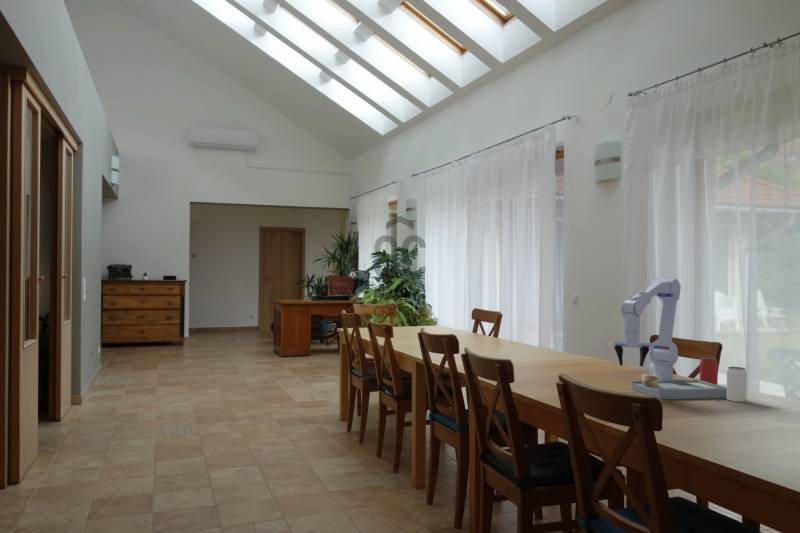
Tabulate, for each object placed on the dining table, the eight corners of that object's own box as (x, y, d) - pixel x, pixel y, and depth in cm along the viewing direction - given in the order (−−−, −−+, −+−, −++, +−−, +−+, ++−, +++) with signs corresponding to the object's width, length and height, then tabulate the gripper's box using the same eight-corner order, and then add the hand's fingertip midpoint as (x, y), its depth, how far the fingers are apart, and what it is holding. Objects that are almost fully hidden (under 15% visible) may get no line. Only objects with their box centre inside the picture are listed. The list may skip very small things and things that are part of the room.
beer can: (695, 385, 257) (696, 356, 257) (707, 384, 260) (707, 356, 260) (709, 388, 251) (710, 359, 251) (721, 387, 254) (721, 358, 254)
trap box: (631, 389, 246) (631, 380, 246) (697, 388, 252) (697, 379, 252) (660, 399, 228) (660, 389, 228) (730, 397, 233) (730, 388, 233)
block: (644, 386, 239) (644, 376, 239) (641, 384, 244) (641, 373, 244) (658, 387, 238) (658, 376, 238) (654, 384, 243) (654, 374, 243)
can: (741, 399, 231) (742, 366, 231) (749, 402, 225) (750, 369, 225) (723, 398, 232) (724, 366, 232) (730, 401, 225) (731, 368, 225)
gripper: (614, 331, 239) (614, 366, 239) (654, 332, 237) (653, 368, 237) (610, 329, 246) (610, 363, 246) (649, 330, 244) (648, 365, 244)
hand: (631, 365), depth 242 cm, fingers open, 7 cm apart
